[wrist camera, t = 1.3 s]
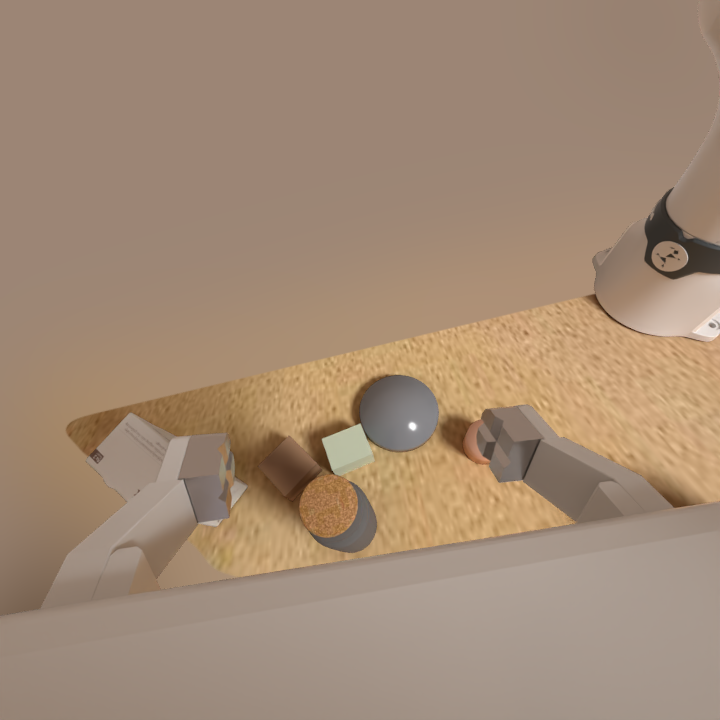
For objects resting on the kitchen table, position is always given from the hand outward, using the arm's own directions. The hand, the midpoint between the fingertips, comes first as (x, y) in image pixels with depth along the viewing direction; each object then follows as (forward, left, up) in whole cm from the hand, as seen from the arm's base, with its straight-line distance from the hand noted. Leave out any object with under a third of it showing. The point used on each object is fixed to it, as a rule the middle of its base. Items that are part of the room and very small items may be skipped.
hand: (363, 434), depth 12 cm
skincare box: (+17, -16, -34) cm, 41 cm away
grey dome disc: (-8, -11, -34) cm, 37 cm away
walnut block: (+7, -12, -34) cm, 37 cm away
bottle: (+4, -3, -34) cm, 34 cm away
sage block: (0, -10, -34) cm, 36 cm away
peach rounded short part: (-14, -2, -34) cm, 37 cm away
